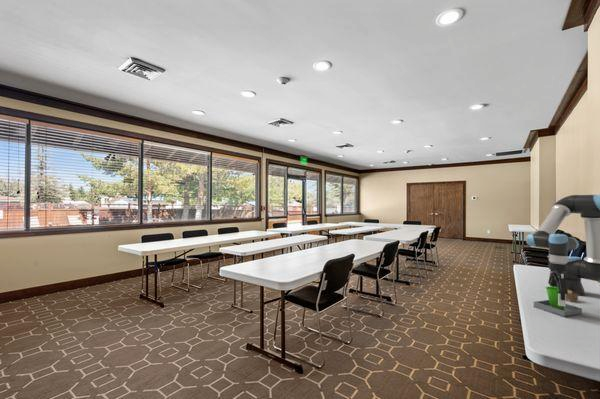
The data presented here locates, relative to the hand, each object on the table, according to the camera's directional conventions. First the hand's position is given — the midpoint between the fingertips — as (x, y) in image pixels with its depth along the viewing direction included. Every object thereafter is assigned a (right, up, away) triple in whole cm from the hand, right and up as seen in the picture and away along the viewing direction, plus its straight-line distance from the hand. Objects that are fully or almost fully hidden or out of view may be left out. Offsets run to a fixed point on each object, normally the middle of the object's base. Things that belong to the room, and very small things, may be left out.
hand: (557, 301), depth 152 cm
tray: (0, -5, 0) cm, 5 cm away
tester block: (+23, -5, +18) cm, 30 cm away
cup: (0, -4, 0) cm, 4 cm away
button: (+23, -2, +18) cm, 30 cm away
